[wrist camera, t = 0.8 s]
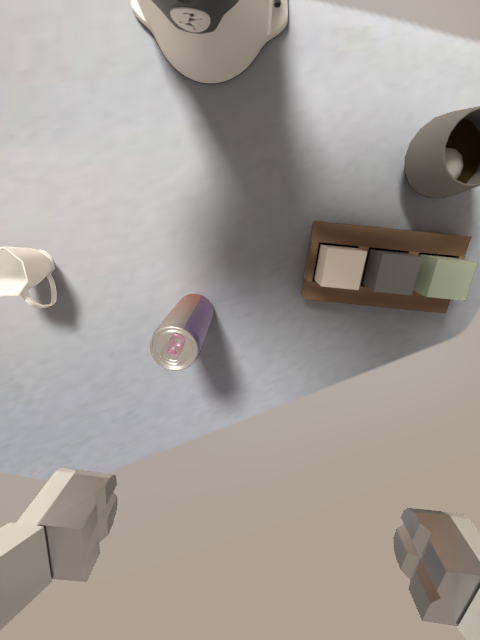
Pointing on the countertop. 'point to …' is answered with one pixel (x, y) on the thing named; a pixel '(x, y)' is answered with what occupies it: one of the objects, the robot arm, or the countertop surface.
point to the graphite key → (391, 272)
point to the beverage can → (182, 333)
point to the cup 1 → (25, 273)
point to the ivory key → (340, 267)
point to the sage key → (444, 277)
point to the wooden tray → (363, 240)
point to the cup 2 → (446, 155)
